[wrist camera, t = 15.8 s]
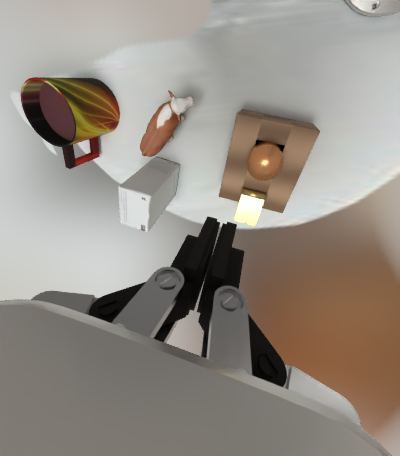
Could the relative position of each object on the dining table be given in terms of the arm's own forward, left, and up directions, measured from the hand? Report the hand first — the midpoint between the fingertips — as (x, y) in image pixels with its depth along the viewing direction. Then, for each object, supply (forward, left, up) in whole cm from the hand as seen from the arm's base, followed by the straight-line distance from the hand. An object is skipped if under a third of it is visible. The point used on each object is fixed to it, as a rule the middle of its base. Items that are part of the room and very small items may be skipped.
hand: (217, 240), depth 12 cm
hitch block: (+4, +3, -32) cm, 32 cm away
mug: (+4, -31, -32) cm, 45 cm away
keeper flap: (+11, +3, -26) cm, 28 cm away
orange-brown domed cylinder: (+2, +3, -32) cm, 32 cm away
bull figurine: (+1, -15, -32) cm, 36 cm away
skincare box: (+13, -16, -32) cm, 38 cm away
